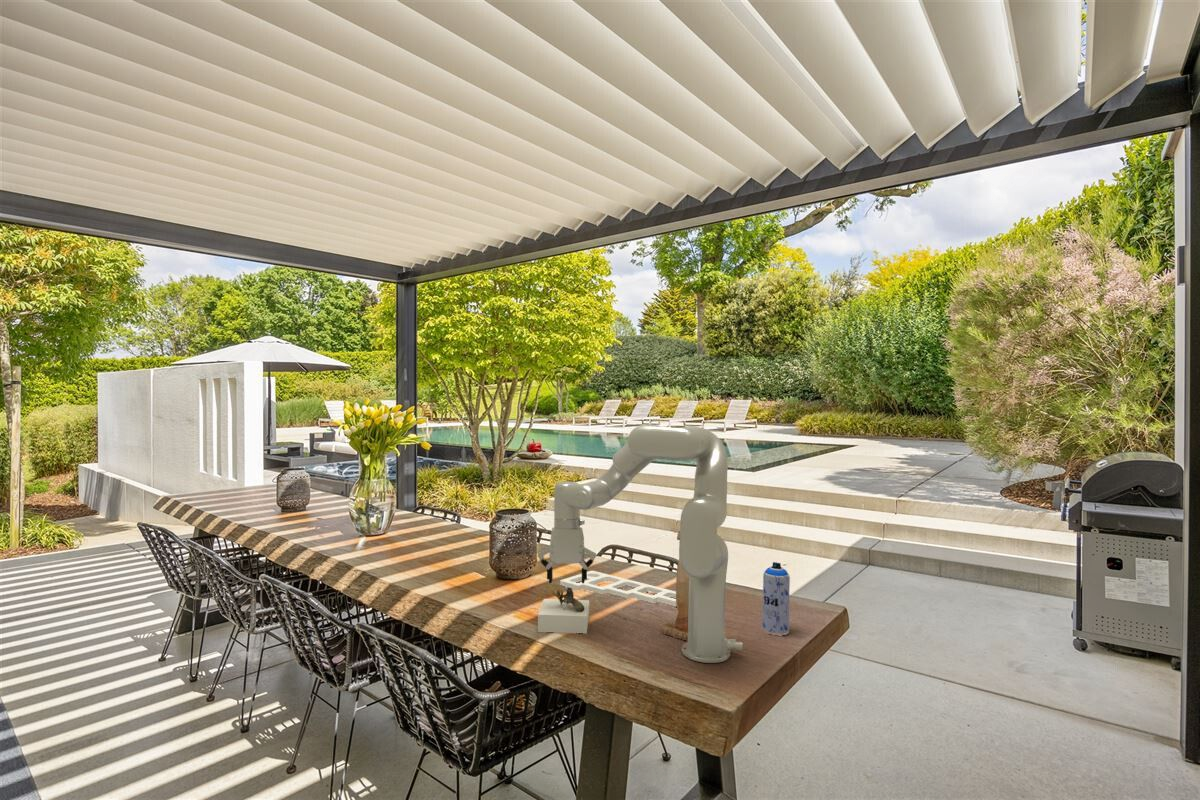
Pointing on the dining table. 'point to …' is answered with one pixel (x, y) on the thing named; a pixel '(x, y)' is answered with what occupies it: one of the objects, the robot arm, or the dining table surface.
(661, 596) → the holder
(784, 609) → the aerosol can
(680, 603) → the bird sculpture
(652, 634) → the dining table surface
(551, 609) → the stand
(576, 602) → the eagle figurine
